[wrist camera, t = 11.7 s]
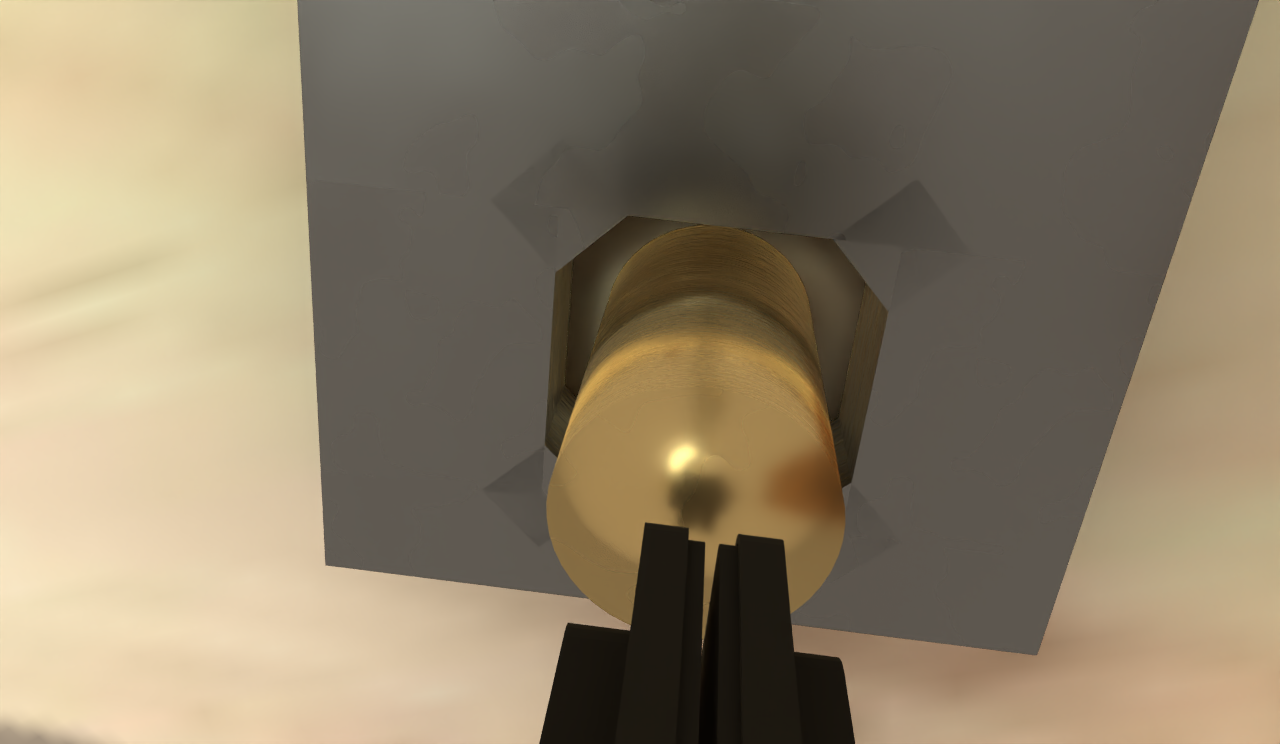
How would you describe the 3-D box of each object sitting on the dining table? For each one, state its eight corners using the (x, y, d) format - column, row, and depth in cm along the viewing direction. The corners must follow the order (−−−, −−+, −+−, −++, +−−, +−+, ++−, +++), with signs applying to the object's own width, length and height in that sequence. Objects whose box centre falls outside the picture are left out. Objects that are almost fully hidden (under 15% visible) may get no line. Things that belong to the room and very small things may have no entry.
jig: (332, -756, 14) (252, -886, 11) (1388, -667, 13) (1524, -783, 11) (366, 497, 22) (325, 565, 20) (1005, 576, 22) (1037, 655, 20)
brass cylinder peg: (615, 212, 19) (556, 368, 13) (827, 238, 19) (872, 408, 13) (598, 400, 21) (538, 619, 14) (792, 425, 21) (816, 657, 14)
